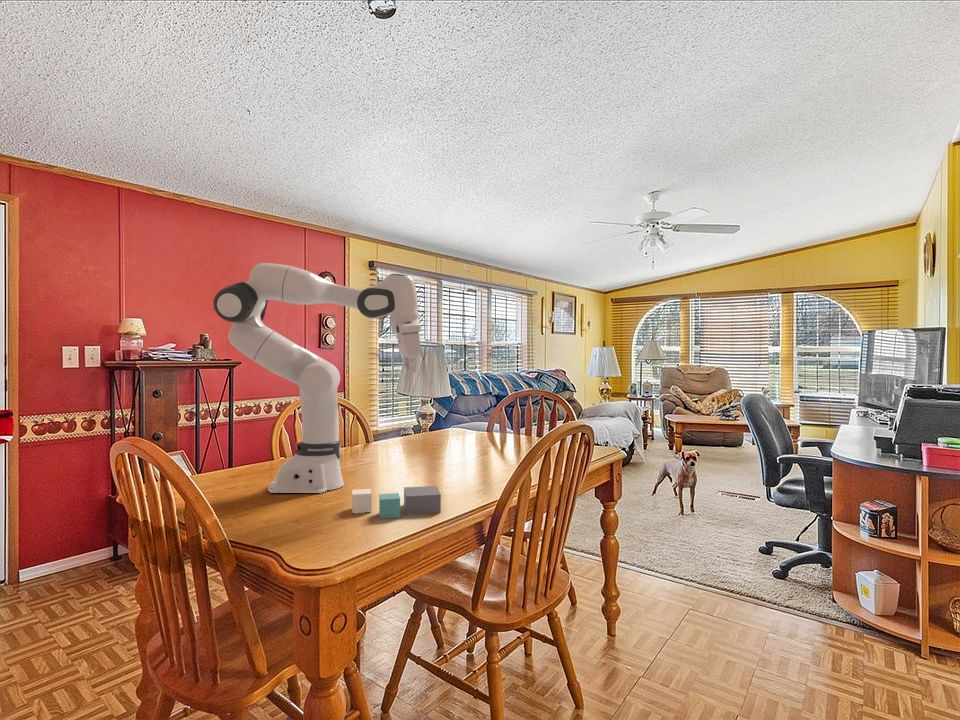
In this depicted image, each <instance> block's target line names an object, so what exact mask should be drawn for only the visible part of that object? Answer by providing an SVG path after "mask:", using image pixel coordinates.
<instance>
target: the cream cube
mask: <svg viewBox="0 0 960 720" xmlns="http://www.w3.org/2000/svg"><path fill="white" fill-rule="evenodd" d="M365 512H370V513H372V488H363V489H362V488H359V489H351V514H352V513H354V514H365Z"/></svg>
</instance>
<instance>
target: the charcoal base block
mask: <svg viewBox="0 0 960 720" xmlns="http://www.w3.org/2000/svg"><path fill="white" fill-rule="evenodd" d="M439 490H440V489H439V488H438V487H437V485H426V486H425V485H424V486H408V487H407V486H404V487H403V506H405V507H404V509H405V510H404V511H405V514H407V515H406V516H408V515H409V516H410V514H412V515H426V513H429V514H440V513H442V512H441V509H442V508H441V507H442V506H441V505H442V504H441V503H442V502H441V500H442V499H441V497H442V496H441V495H442V494H441V492H440V491H439Z"/></svg>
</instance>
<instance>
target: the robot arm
mask: <svg viewBox="0 0 960 720" xmlns="http://www.w3.org/2000/svg"><path fill="white" fill-rule="evenodd" d="M248 278H249V279H248V280H247V281H246V282H245V281H240V282H237V283H233V284H230V285H226V286H224V287H223V288H222V289H220V290H219V291H218V292H217V293H216V294H215V296H214V298H213V308H214V311H215V313H216V314H217V315H218V317H219V318H221V319H222V320H223V321H227V322H229V323H232V326H231V327H230V329H229V331H228V341H229V343H230V344H231V346H232V347H234V348H235V349H236V350H237V351H238V352H240V353H241V354H242V355H244V356H245V357H246V358H248V359H250V360H251V361H253V362H254V363H256V364H258V365H260V366H261V367H263V368H264V369H266V370H269V371H270V372H271V373H273V374H274V375H276V376H279V377H281V378H284V379H286V380H288V381H290V382H292V383H294V384H296V385H298V386H299V387H298V389H299V398H300V399H299V400H300V401H299V402H300V409H301V411H300V412H301V435H302V436H301V438H302V439H301V441H300V440H297V441H296V442H294V443H295V444H294V447H295V448H294V451H295V452H294V453H295V454H294V455H293V456H291V457H290V458H289V459H287V461H285V462H284V463H283V464H282V465H279V468H278V469H277V472H276V476H275V480H273V481H272V482H270V483H269V485H268V486H267V492H268V491H269V492H270V493H269V492H268V493H269V494H271V493H320V494H322V493H321V492H324V493H326V492H328V491H327V490H329V491H332V490H336V489H340V488H342V487H344V485H345V483H344V479H343V475H342V470H341V464H340V463H341V462H340V461H341V460H340V458H341V454H342V453H341V452H342V451H341V450H342V449H341V448H342V447H341V446H342V445H341V440H340V439H339V438H340V432H339V431H340V428H339V427H340V424H339V423H340V420H339V419H340V416H339V415H340V413H339V404H338V403H339V402H338V400H339V399H338V387H339V385H340V382H341V374H340V371H339V370H338V368H337V367H336V365H334V364H333V363H331V362H329V361H327V360H326V359H324V358H322V357H320V356H319V355H317V354H315V353H313V352H311V351H310V350H307V349H306V348H304V347H302V346H300V345H298V344H297V343H295V342H293V341H292V340H290V339H289V338H287V337H285V336H283V335H282V334H280V333H278V332H277V331H275V330H274V329H271V328H270V327H269V326H267V325H265V324H264V322H262V321H263V320H264V318H265V315H266V310H267V308H268V302H269V301H277V302H278V301H279V302H282V303H286V304H293V305H306V306H308V305H319V304H332V305H338V306H342V307H343V306H344V307H348V308H352V309H356V310H358V311H359V312H360V313H361V315H363V316H364V317H366V318H368V319H371V320H373V319H377V320H382V319H385V318H387V317H389V318H390V325H391V327H390V328H391V333H392V334H395V335H396V339H397V346H398V354H399V355H401V356H402V359H403V363H404V368H405V369H406V371H407V370H409V372H410V373H416V372H417V358H419V357H420V356H421V344H420V343H421V338H420V337H421V336H420V332H422V328H421V321H420V313H419V311H418V294H417V288H416V285H415V284H416V283H415V281H414V279H413V278H412V277H411V276H409V275H407V274H401V273H390V274H388V275H387V276H386V277H385V278H384V279H382V280H381V281H380V282H378V283H376V284H374V285H371V286H369V287H367V288H364V289H360V288H355V287H350V286H347V285H346V286H345V285H342V284H337V283H334V282H332V281H329V280H327V279H325V278H323V277H321V276H319V275H317V274H315V273H314V272H311V271H308V270H306V269H303V268H300V267H297V266H293V265H288V264H279V263H273V262H272V263H271V262H270V263H269V262H262V263H258V264H256V265H254V266H253V268H252V269H251V271H250V273H249V277H248ZM325 491H326V492H325Z"/></svg>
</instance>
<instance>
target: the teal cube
mask: <svg viewBox="0 0 960 720" xmlns="http://www.w3.org/2000/svg"><path fill="white" fill-rule="evenodd" d="M378 494H379V493H378ZM378 496H379V497H378V498H379V499H378V501H379V502H378V504H379V506H378V507H379V508H378V509H379V511H378V515H379V518H380V520H382V519H381V518H389V519H398V518H401V497H400V494H399V492H397V493H396V492H393V493H380V494H379V495H378Z"/></svg>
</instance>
